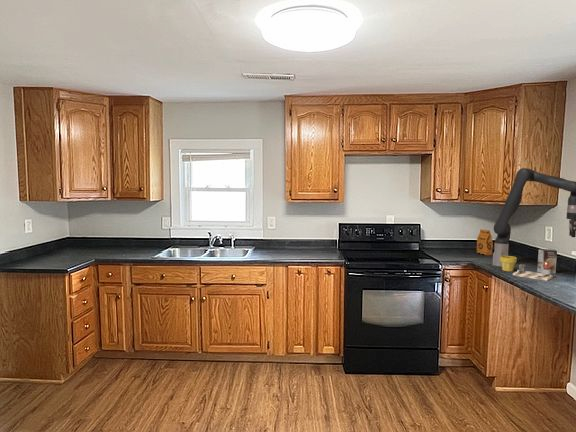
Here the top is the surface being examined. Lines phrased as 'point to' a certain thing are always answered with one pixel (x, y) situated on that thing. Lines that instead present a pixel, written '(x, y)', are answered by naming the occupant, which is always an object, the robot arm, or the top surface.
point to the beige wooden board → (531, 274)
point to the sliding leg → (546, 268)
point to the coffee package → (484, 242)
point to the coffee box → (547, 259)
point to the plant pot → (508, 262)
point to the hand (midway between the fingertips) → (572, 236)
